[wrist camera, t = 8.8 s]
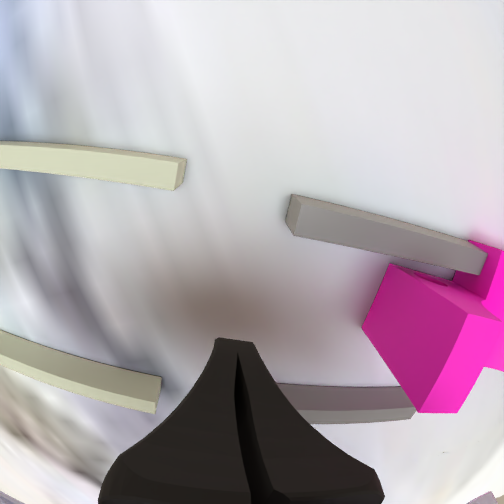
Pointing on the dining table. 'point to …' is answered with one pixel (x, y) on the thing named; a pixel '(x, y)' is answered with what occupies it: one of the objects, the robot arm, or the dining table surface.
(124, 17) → the dining table surface
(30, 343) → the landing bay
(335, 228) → the channel
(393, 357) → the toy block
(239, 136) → the dining table surface
